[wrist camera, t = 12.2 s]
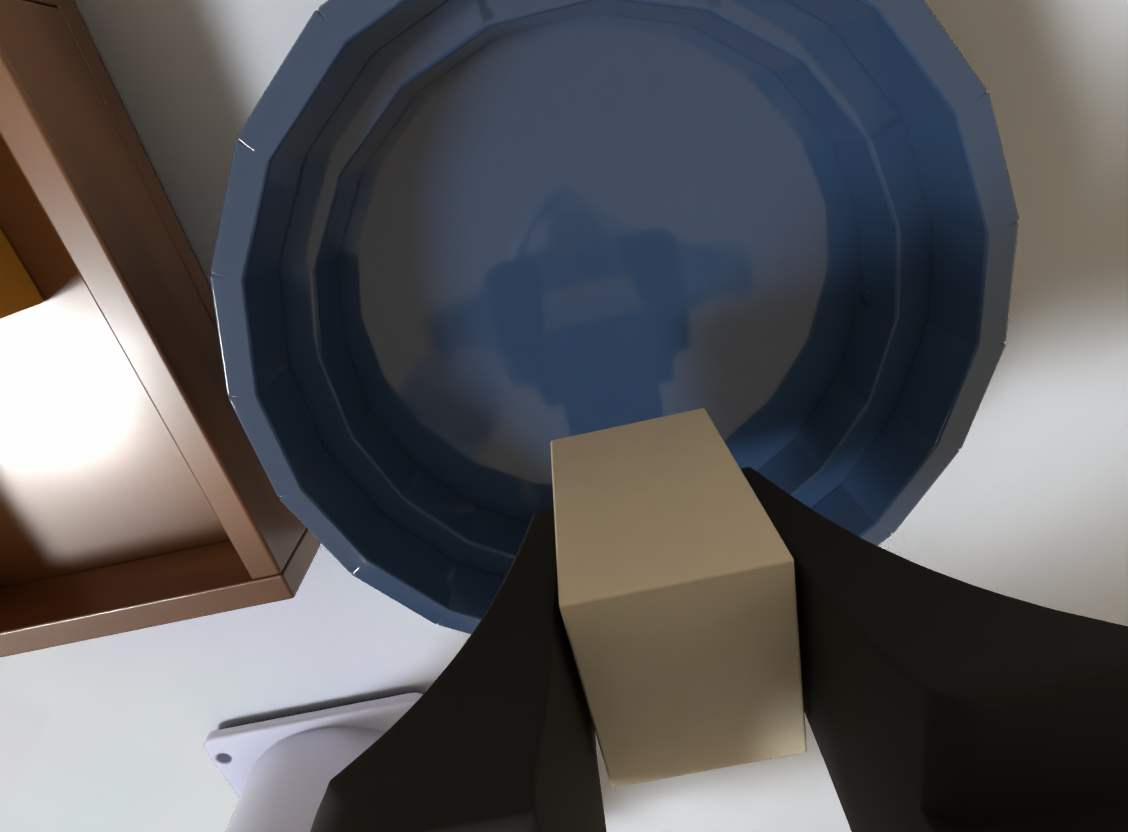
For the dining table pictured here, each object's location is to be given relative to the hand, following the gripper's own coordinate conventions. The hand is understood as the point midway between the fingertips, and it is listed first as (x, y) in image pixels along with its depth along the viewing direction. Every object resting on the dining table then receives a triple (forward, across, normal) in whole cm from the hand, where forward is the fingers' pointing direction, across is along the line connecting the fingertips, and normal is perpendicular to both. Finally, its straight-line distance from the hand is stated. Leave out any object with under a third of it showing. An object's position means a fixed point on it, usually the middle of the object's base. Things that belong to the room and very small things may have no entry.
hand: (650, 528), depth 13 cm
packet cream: (+1, 0, 0) cm, 1 cm away
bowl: (+5, 0, -3) cm, 6 cm away
